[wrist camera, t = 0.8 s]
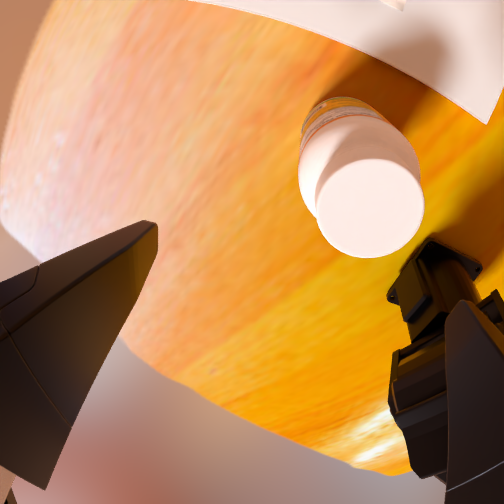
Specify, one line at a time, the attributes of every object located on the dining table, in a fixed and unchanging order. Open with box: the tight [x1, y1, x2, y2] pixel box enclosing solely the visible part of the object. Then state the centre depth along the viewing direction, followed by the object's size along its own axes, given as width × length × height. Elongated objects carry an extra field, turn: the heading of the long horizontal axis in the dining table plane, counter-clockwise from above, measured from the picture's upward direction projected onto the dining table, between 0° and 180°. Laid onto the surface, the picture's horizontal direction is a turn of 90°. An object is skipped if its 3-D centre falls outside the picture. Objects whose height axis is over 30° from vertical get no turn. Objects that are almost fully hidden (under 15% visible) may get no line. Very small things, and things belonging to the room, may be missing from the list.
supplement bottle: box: [298, 97, 424, 258], centre depth 14 cm, size 5×5×10 cm
